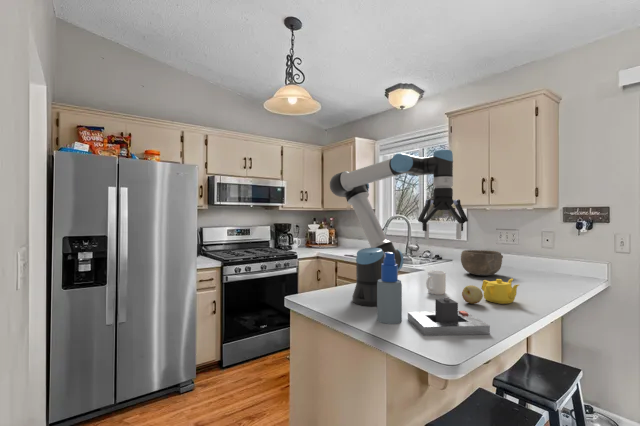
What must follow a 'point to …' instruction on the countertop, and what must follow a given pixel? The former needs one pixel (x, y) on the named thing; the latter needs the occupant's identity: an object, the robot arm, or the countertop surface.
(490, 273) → the bowl
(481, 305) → the countertop surface
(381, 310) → the spray bottle
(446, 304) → the plug
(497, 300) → the teapot
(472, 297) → the fruit
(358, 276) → the robot arm
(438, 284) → the mug
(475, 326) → the socket plate
